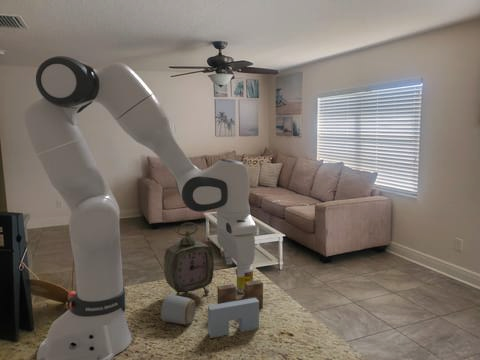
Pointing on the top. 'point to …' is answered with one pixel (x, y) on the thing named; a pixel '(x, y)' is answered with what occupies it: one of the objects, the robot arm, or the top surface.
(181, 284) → the tabletop clock
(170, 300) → the ceramic mug
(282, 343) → the top surface
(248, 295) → the walnut board
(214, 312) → the slate board
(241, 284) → the supplement bottle
